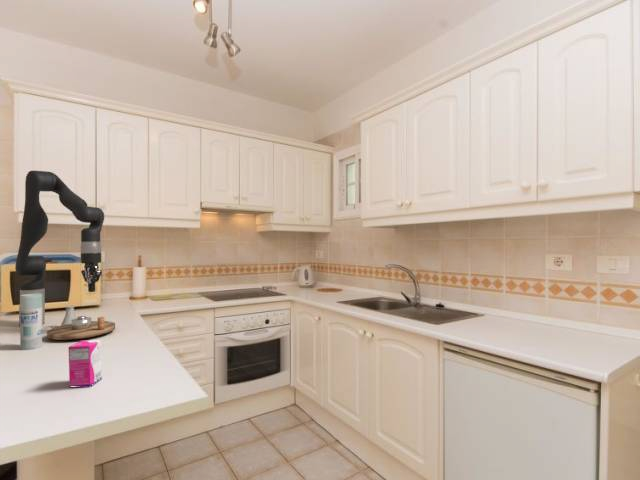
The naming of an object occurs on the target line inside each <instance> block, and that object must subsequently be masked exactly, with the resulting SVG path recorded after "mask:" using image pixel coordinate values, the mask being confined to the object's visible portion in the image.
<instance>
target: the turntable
mask: <svg viewBox="0 0 640 480" xmlns="http://www.w3.org/2000/svg"><path fill="white" fill-rule="evenodd" d="M115 329H116V323H115V322H113V321H108V320H107V321H105V317H104V316H99V317H97V320H95V321H94V320H93V321H92V320H91V328H87V329H82V330H72V324H68V325H63V326H61V325H59V326H56V327H52V328H51V329H48V330H47V331H46V337H47V338H48V339H49V340H57V341H58V340H60V341H63V340H79V338H82V339H86V338H87V337H89V338H93V337H97V336H101V335H105V334H108V333H111V332H113V331H114V330H115ZM87 339H88V338H87Z"/></svg>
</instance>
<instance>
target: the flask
mask: <svg viewBox="0 0 640 480" xmlns="http://www.w3.org/2000/svg"><path fill="white" fill-rule="evenodd" d="M76 318H77V317H76V315H75V305H66V306H65V315H64V317H63V320H62V322H61V325H60V326H63V325H68V324H72V319H76Z"/></svg>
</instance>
